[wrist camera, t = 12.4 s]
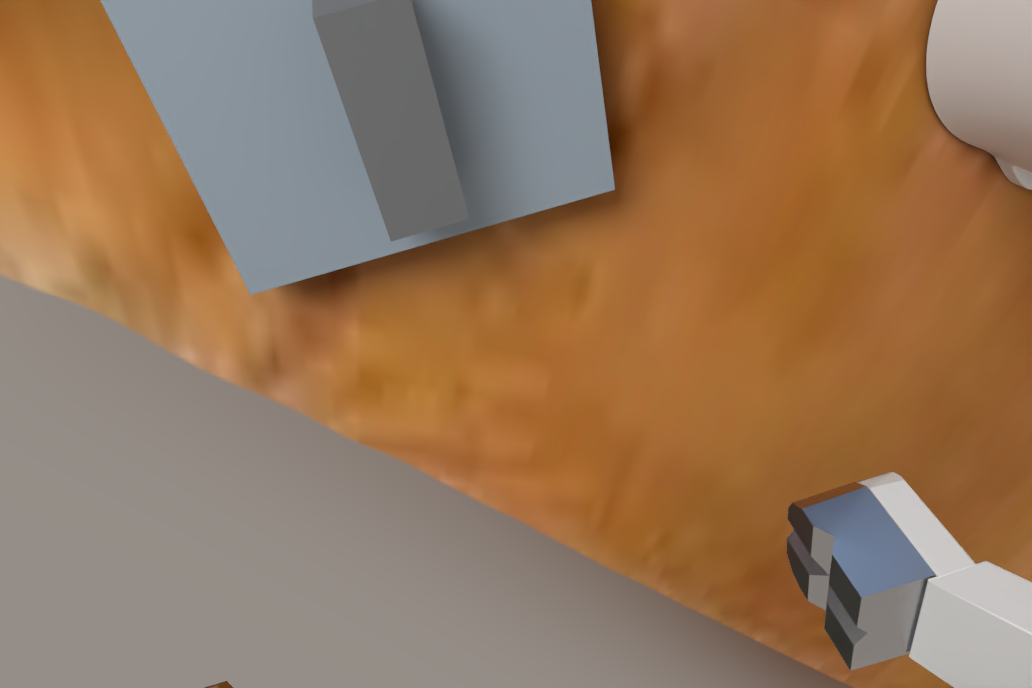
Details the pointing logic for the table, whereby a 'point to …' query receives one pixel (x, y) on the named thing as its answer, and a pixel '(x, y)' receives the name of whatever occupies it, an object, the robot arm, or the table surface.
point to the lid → (370, 119)
